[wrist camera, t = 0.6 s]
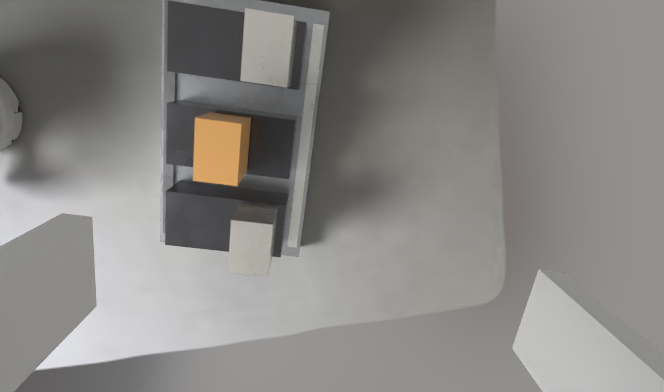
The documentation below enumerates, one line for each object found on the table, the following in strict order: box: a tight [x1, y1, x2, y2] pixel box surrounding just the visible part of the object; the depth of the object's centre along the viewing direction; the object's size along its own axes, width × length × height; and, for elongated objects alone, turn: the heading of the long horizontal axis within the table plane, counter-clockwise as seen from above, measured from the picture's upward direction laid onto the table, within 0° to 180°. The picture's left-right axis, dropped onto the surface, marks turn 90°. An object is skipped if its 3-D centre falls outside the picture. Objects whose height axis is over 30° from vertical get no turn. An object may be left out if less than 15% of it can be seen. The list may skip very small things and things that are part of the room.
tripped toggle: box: [193, 112, 251, 186], centre depth 25 cm, size 3×4×4 cm
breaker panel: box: [160, 0, 330, 277], centre depth 28 cm, size 12×20×9 cm, turn 172°
